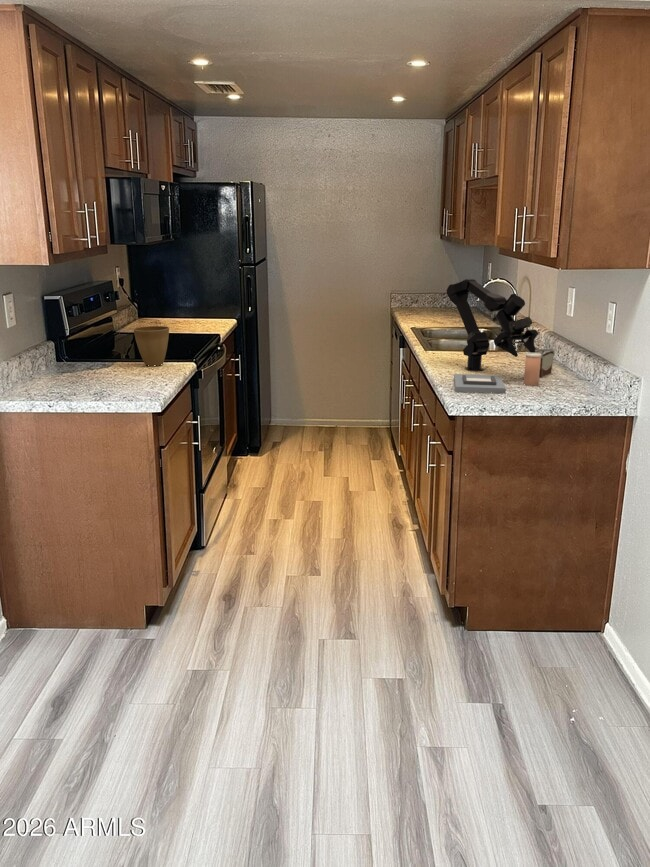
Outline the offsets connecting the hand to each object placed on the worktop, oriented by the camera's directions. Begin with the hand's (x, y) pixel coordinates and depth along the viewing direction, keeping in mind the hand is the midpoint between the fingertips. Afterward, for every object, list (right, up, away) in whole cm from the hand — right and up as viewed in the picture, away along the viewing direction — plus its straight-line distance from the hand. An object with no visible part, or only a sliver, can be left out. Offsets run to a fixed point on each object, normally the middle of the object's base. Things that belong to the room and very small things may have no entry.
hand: (525, 355), depth 288 cm
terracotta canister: (+2, -11, 0) cm, 11 cm away
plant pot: (-152, -1, +33) cm, 155 cm away
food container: (+10, -6, +18) cm, 22 cm away
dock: (-19, -12, -3) cm, 23 cm away
